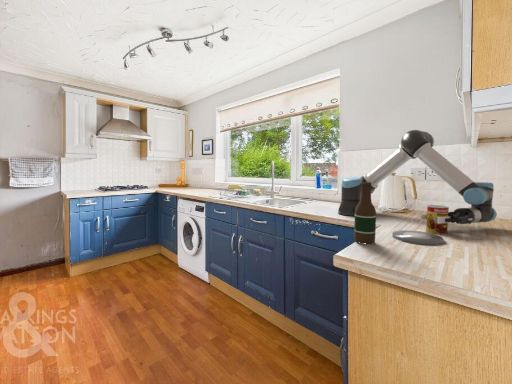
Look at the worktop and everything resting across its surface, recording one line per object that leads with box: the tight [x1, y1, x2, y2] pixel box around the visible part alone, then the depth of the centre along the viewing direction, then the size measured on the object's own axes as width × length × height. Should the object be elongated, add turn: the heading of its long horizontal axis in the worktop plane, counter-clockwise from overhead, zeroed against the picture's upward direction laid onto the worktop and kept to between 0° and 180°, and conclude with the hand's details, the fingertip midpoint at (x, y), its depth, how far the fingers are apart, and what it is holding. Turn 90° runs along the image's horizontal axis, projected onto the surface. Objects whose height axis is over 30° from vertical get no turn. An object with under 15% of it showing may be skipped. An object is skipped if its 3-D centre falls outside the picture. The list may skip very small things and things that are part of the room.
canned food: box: [425, 204, 450, 235], centre depth 114 cm, size 8×8×12 cm
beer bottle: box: [353, 182, 377, 245], centre depth 99 cm, size 8×8×24 cm
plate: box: [392, 229, 445, 246], centre depth 104 cm, size 18×18×1 cm
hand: (429, 218), depth 113 cm, fingers closed on canned food, 8 cm apart
